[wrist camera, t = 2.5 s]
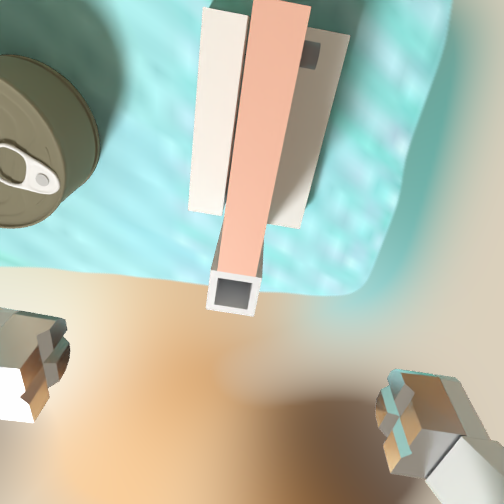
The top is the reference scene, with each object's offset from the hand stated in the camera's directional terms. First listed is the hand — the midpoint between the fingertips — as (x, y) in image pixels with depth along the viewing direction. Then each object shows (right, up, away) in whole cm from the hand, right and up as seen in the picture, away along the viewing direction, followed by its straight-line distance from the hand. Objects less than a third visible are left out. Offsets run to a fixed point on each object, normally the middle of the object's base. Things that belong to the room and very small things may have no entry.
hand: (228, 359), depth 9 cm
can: (-18, +13, +22) cm, 32 cm away
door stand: (+1, +13, +21) cm, 25 cm away
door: (+2, +13, +21) cm, 25 cm away
